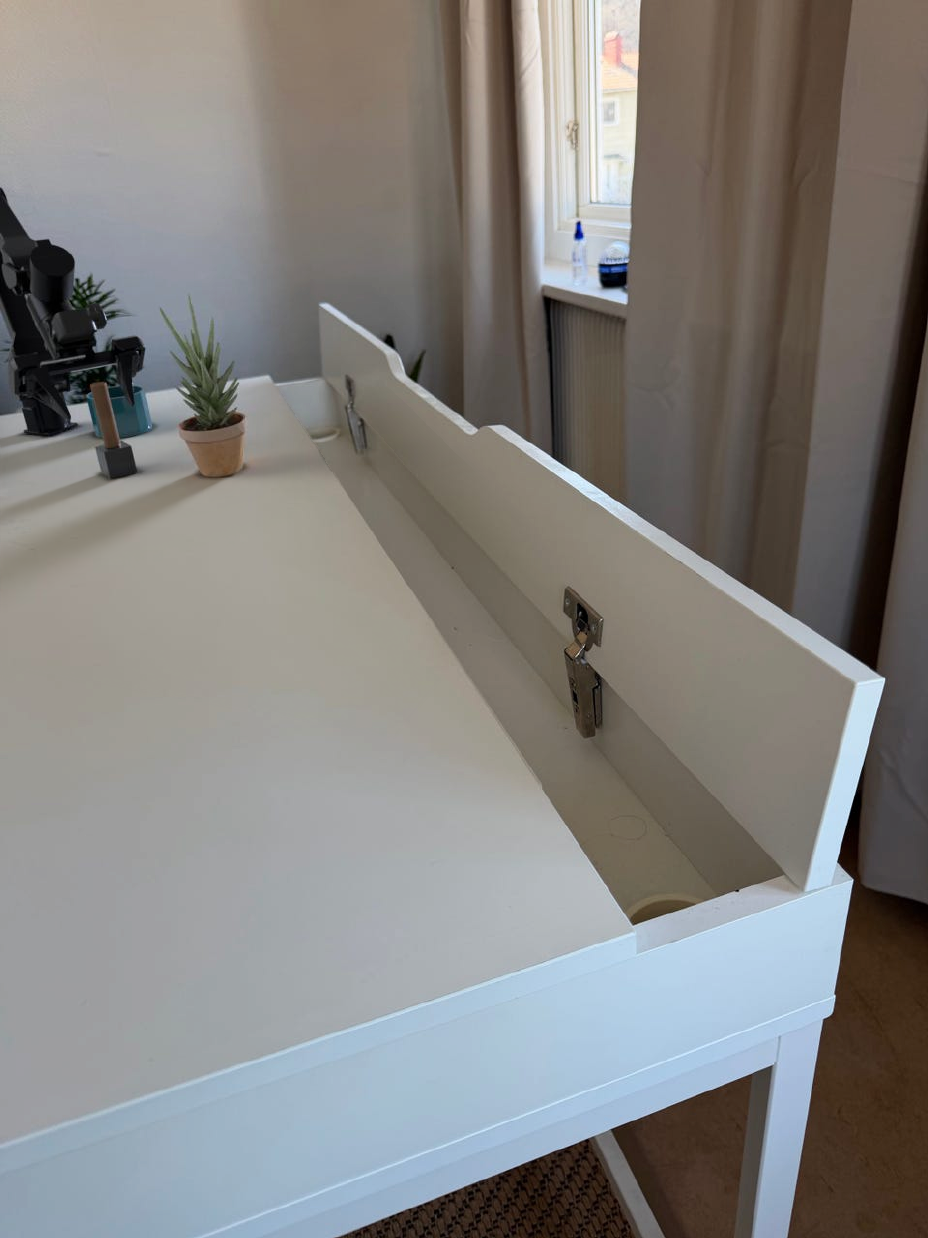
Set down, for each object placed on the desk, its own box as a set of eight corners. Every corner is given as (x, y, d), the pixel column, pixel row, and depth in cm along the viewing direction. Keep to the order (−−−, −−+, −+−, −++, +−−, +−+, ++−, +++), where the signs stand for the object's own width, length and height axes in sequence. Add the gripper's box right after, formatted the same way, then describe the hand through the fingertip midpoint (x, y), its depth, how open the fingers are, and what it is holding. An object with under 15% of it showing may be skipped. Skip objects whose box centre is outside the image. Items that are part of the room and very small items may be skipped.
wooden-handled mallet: (101, 472, 138) (79, 384, 132) (127, 466, 140) (107, 378, 134) (110, 479, 135) (88, 388, 130) (137, 472, 138) (117, 382, 132)
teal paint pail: (123, 421, 164) (114, 383, 161) (163, 424, 161) (155, 386, 158) (83, 436, 157) (74, 397, 154) (125, 440, 153) (116, 400, 150)
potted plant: (173, 478, 134) (135, 297, 122) (213, 458, 141) (180, 285, 130) (232, 483, 130) (198, 297, 119) (269, 462, 138) (241, 285, 127)
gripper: (-11, 296, 126) (35, 390, 123) (125, 277, 136) (171, 364, 133) (-8, 349, 136) (35, 438, 133) (119, 328, 145) (161, 410, 142)
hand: (102, 411), depth 135 cm, fingers open, 9 cm apart
